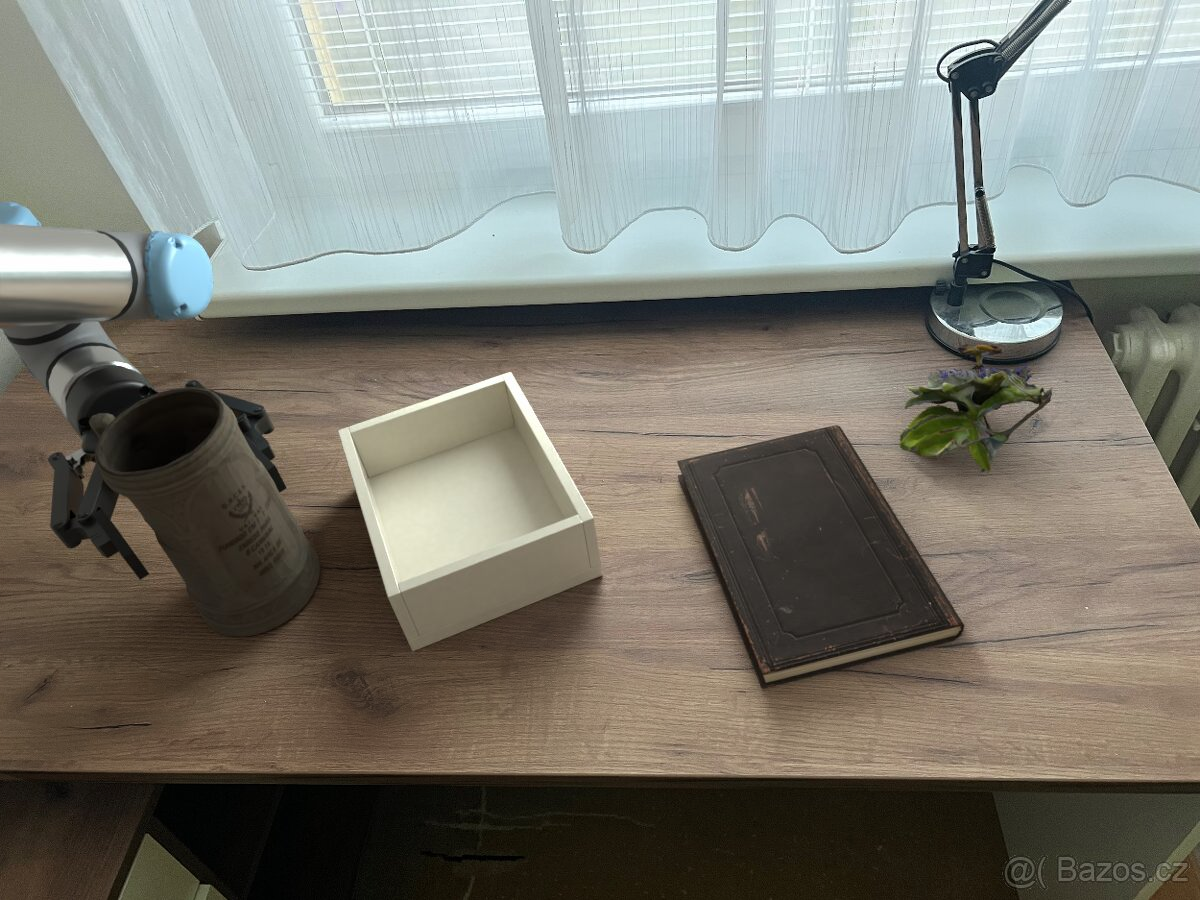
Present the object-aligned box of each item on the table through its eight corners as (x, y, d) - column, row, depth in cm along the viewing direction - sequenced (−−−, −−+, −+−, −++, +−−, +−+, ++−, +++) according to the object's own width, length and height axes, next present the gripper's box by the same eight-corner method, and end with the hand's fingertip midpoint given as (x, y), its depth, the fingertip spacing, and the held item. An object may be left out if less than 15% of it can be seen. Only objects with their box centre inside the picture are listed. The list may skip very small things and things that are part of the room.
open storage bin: (412, 652, 71) (387, 597, 66) (361, 485, 86) (337, 430, 80) (603, 575, 75) (594, 517, 70) (523, 427, 89) (510, 371, 84)
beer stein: (350, 551, 79) (253, 383, 66) (287, 651, 72) (163, 486, 59) (217, 530, 85) (101, 369, 71) (146, 621, 78) (2, 463, 64)
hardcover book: (761, 689, 66) (762, 672, 64) (678, 477, 82) (677, 460, 80) (961, 639, 67) (967, 621, 65) (839, 440, 83) (842, 423, 82)
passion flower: (952, 454, 88) (1036, 358, 83) (1001, 520, 79) (1098, 417, 73) (864, 412, 85) (945, 309, 79) (905, 476, 75) (999, 365, 70)
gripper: (240, 369, 89) (351, 472, 77) (1, 499, 79) (86, 642, 66) (209, 309, 84) (323, 408, 71) (-50, 439, 73) (31, 582, 61)
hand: (209, 521), depth 69 cm, fingers open, 11 cm apart
